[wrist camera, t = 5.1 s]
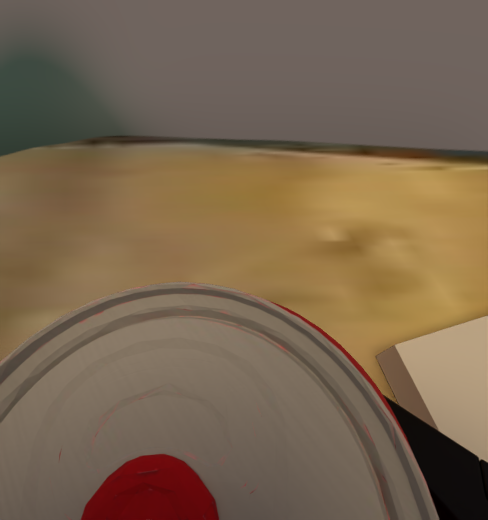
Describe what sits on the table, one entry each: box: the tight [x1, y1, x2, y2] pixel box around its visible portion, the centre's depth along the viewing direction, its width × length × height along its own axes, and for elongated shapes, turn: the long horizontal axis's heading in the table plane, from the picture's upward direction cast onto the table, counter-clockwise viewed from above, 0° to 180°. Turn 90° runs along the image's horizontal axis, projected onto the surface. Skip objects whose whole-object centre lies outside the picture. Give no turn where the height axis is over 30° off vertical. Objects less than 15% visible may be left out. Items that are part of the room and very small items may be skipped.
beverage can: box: [0, 282, 439, 520], centre depth 8 cm, size 6×6×12 cm
